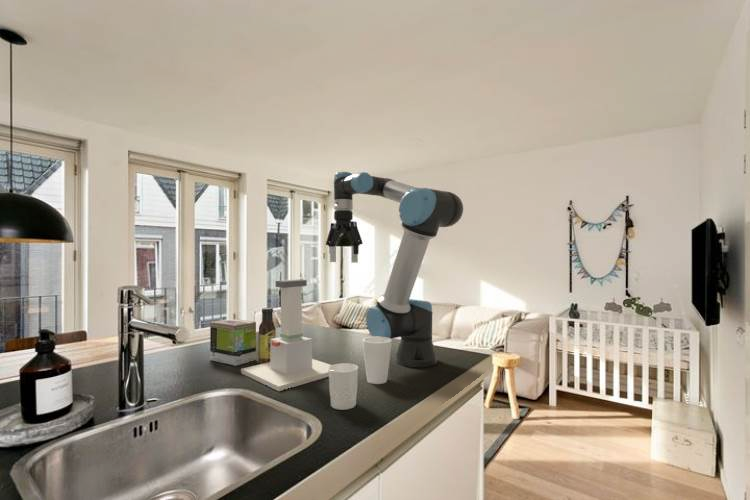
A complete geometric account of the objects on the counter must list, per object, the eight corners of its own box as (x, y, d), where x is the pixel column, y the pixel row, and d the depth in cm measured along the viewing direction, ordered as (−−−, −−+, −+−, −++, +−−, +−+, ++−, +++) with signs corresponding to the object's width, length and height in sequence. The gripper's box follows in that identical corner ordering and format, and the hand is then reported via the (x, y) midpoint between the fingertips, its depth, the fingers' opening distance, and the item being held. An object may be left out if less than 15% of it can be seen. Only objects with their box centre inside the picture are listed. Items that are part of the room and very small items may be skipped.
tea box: (257, 360, 143) (257, 321, 143) (234, 366, 135) (234, 325, 135) (231, 354, 151) (231, 317, 151) (209, 360, 143) (209, 321, 143)
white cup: (329, 399, 104) (329, 363, 104) (357, 398, 105) (357, 362, 105) (328, 411, 96) (327, 372, 96) (358, 410, 97) (358, 371, 97)
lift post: (307, 344, 129) (306, 280, 129) (283, 349, 122) (283, 281, 123) (298, 341, 133) (298, 279, 133) (275, 346, 126) (275, 280, 126)
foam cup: (395, 377, 123) (395, 337, 123) (387, 387, 114) (386, 344, 114) (368, 374, 126) (368, 335, 126) (357, 383, 117) (357, 341, 117)
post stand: (341, 372, 128) (341, 338, 128) (278, 391, 110) (278, 352, 111) (300, 358, 144) (300, 328, 145) (241, 373, 127) (241, 339, 127)
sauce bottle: (270, 364, 137) (270, 310, 137) (254, 363, 138) (254, 309, 138) (278, 359, 143) (278, 307, 144) (263, 358, 145) (263, 307, 145)
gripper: (317, 212, 161) (317, 262, 161) (357, 207, 143) (357, 263, 143) (331, 213, 166) (331, 261, 166) (371, 208, 149) (371, 262, 149)
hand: (343, 262), depth 155 cm, fingers open, 13 cm apart
